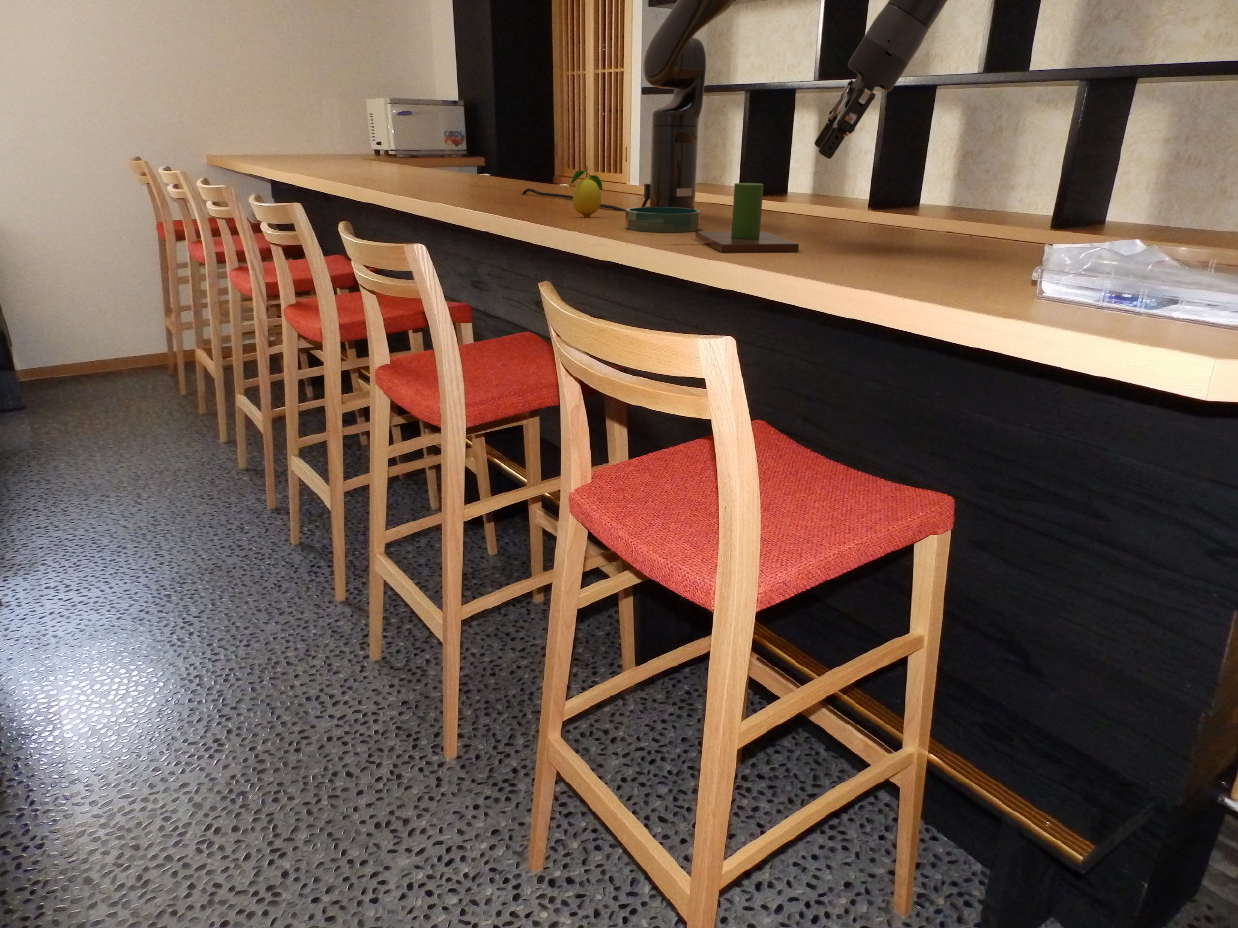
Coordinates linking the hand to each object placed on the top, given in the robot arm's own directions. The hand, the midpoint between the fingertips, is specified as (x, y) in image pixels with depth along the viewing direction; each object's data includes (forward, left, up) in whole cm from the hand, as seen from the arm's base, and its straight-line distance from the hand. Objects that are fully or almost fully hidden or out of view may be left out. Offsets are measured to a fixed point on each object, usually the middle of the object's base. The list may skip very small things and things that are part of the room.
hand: (821, 152), depth 128 cm
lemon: (-42, -31, -14) cm, 54 cm away
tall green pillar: (-1, -11, -13) cm, 17 cm away
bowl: (-21, -20, -14) cm, 32 cm away
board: (-1, -11, -14) cm, 18 cm away
